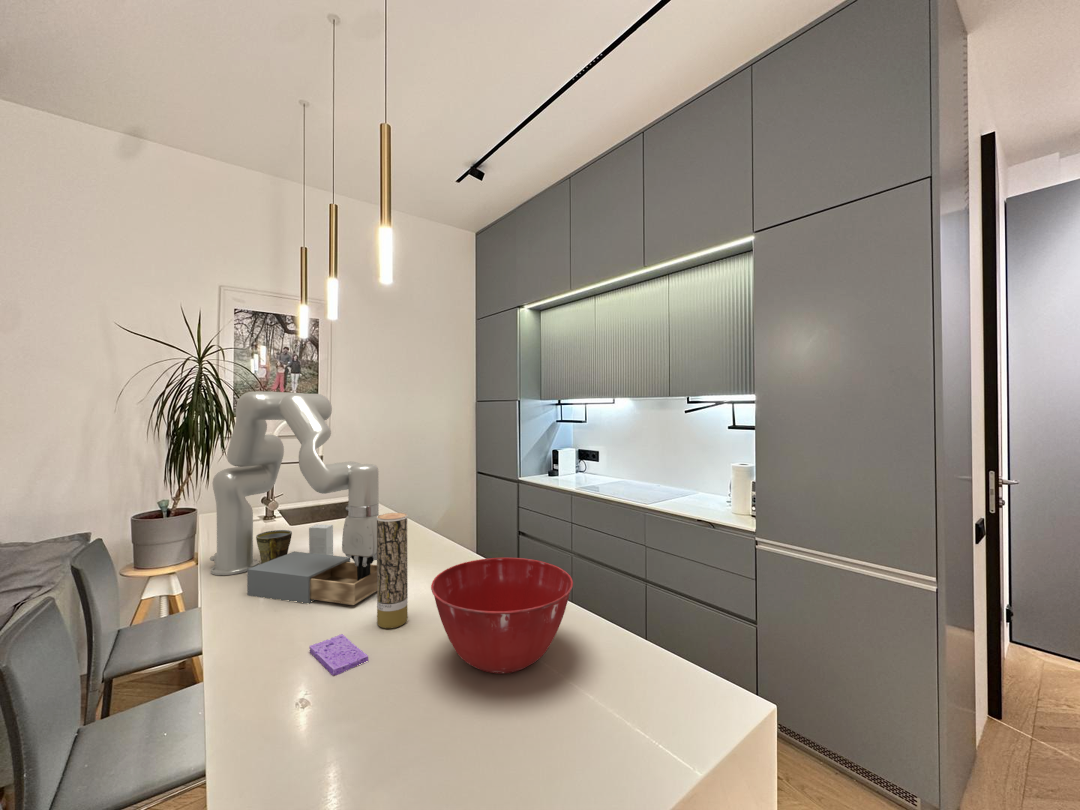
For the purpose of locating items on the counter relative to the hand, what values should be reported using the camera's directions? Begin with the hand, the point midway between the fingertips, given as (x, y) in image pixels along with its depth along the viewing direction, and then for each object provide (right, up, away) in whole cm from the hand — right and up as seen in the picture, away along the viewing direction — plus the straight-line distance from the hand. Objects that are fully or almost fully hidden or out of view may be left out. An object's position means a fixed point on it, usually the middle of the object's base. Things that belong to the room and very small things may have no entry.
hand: (363, 579), depth 124 cm
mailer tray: (-7, -4, +2) cm, 8 cm away
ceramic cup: (-37, -5, +24) cm, 45 cm away
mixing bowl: (+39, -5, -30) cm, 50 cm away
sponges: (+6, -5, -30) cm, 31 cm away
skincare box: (-24, -5, +27) cm, 36 cm away
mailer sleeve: (-20, -5, +6) cm, 21 cm away
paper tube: (+12, -5, -15) cm, 20 cm away
